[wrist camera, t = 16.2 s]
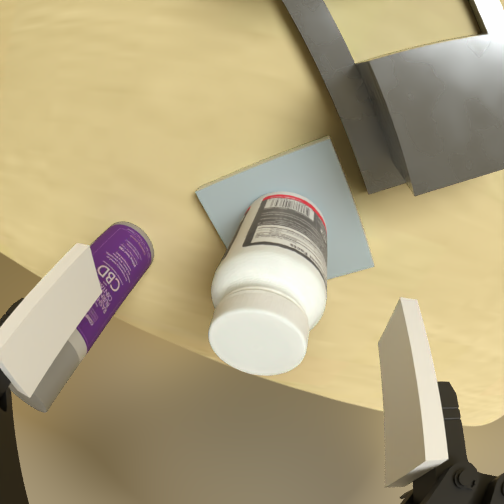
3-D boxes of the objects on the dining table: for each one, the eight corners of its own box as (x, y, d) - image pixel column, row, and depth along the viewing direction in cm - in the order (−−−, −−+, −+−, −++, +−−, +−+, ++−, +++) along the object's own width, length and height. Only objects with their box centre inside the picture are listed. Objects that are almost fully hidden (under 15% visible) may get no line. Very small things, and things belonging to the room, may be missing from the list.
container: (162, 241, 24) (46, 400, 12) (145, 278, 27) (50, 421, 14) (113, 210, 24) (-20, 344, 11) (102, 250, 26) (-6, 377, 14)
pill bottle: (280, 276, 22) (252, 396, 14) (226, 221, 21) (164, 329, 13) (344, 236, 20) (350, 359, 12) (289, 171, 18) (259, 268, 10)
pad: (200, 186, 21) (195, 192, 20) (329, 135, 17) (329, 138, 17) (257, 289, 25) (255, 297, 24) (372, 258, 21) (374, 266, 20)
